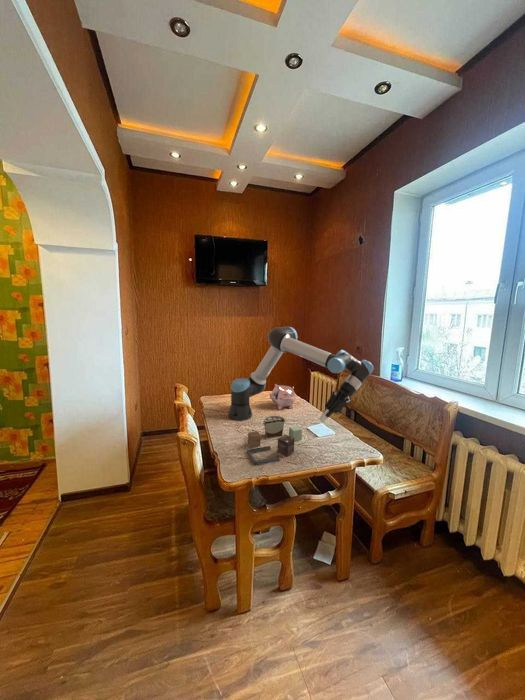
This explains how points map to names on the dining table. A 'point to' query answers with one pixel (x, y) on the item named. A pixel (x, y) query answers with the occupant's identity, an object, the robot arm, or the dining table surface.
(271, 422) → the food container
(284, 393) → the piggy bank
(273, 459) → the corral
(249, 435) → the walnut block
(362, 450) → the dining table surface
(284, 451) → the box
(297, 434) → the sage green block
